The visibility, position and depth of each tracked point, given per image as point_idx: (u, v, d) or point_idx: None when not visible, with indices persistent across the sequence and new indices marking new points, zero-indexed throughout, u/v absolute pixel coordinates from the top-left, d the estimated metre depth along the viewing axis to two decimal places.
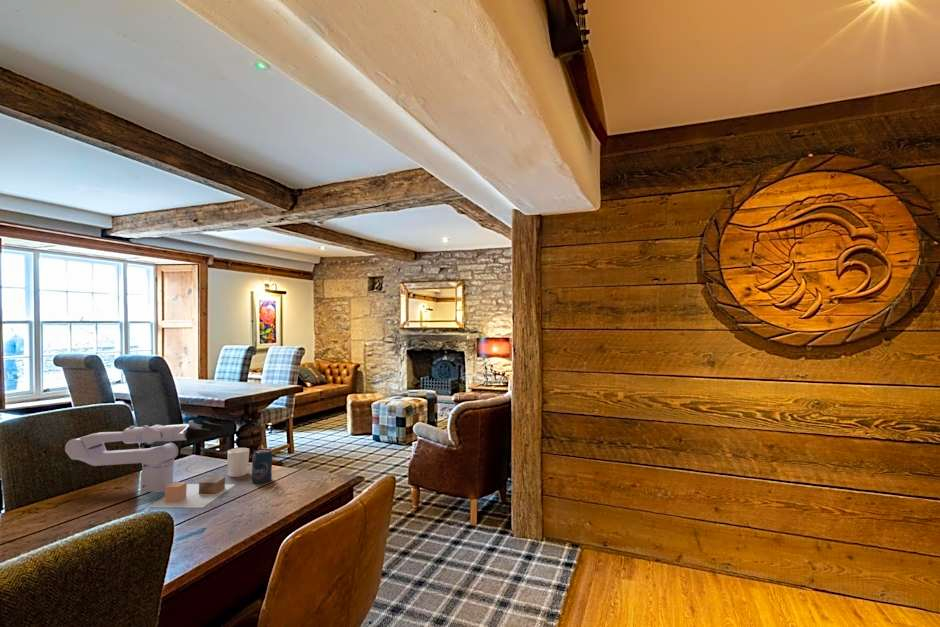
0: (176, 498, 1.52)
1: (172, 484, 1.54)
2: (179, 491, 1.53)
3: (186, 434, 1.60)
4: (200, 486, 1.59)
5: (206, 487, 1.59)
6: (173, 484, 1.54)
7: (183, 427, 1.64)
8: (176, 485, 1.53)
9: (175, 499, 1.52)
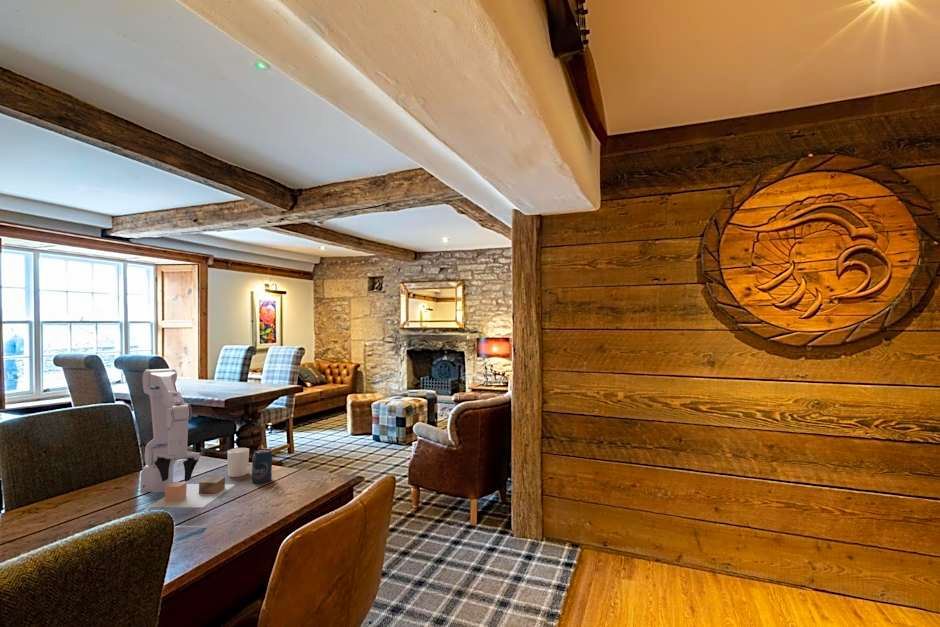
0: (176, 498, 1.52)
1: (172, 484, 1.54)
2: (179, 491, 1.53)
3: None
4: (200, 486, 1.59)
5: (206, 487, 1.59)
6: (173, 484, 1.54)
7: (168, 450, 1.53)
8: (176, 485, 1.53)
9: (175, 499, 1.52)
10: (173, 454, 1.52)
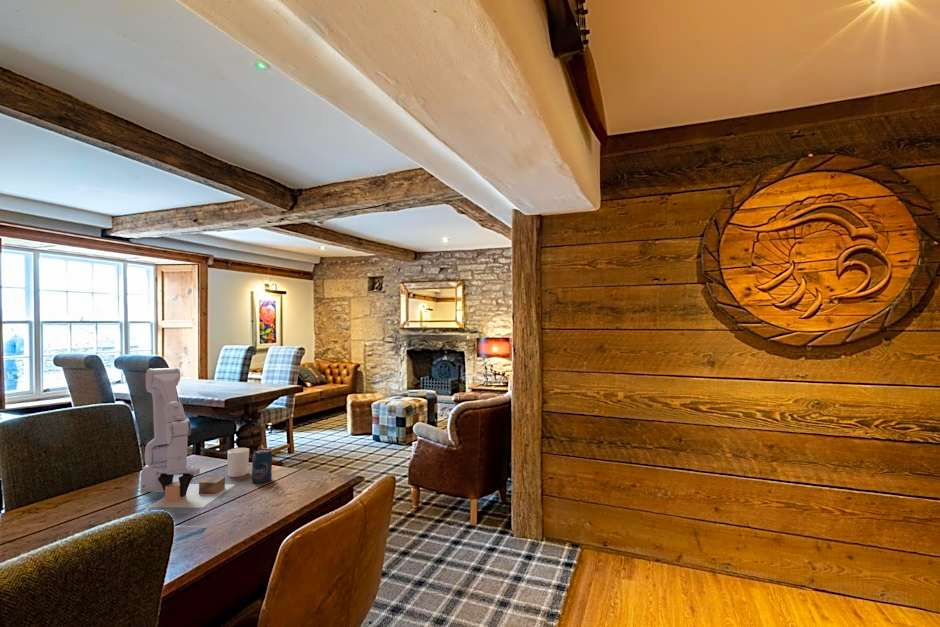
0: (176, 498, 1.52)
1: (172, 484, 1.54)
2: (179, 491, 1.53)
3: None
4: (200, 486, 1.59)
5: (206, 487, 1.59)
6: (173, 484, 1.54)
7: (167, 466, 1.52)
8: (176, 485, 1.53)
9: (175, 499, 1.52)
10: (172, 470, 1.52)
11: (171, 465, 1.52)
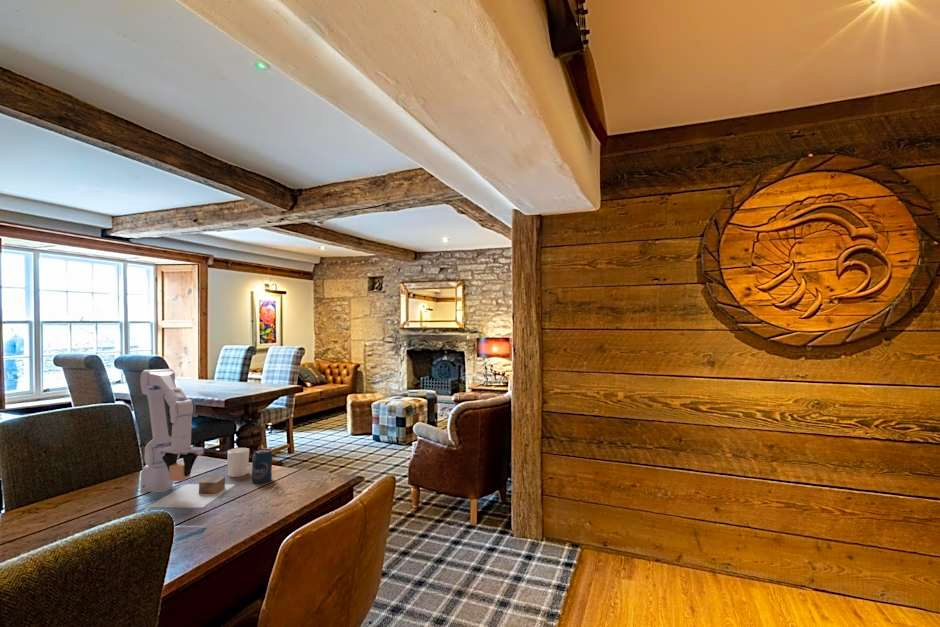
0: (181, 477, 1.53)
1: (176, 464, 1.55)
2: (183, 470, 1.53)
3: None
4: (200, 486, 1.59)
5: (206, 487, 1.59)
6: (178, 463, 1.55)
7: (171, 445, 1.53)
8: (180, 464, 1.54)
9: (179, 479, 1.53)
10: (177, 449, 1.53)
11: (175, 444, 1.53)
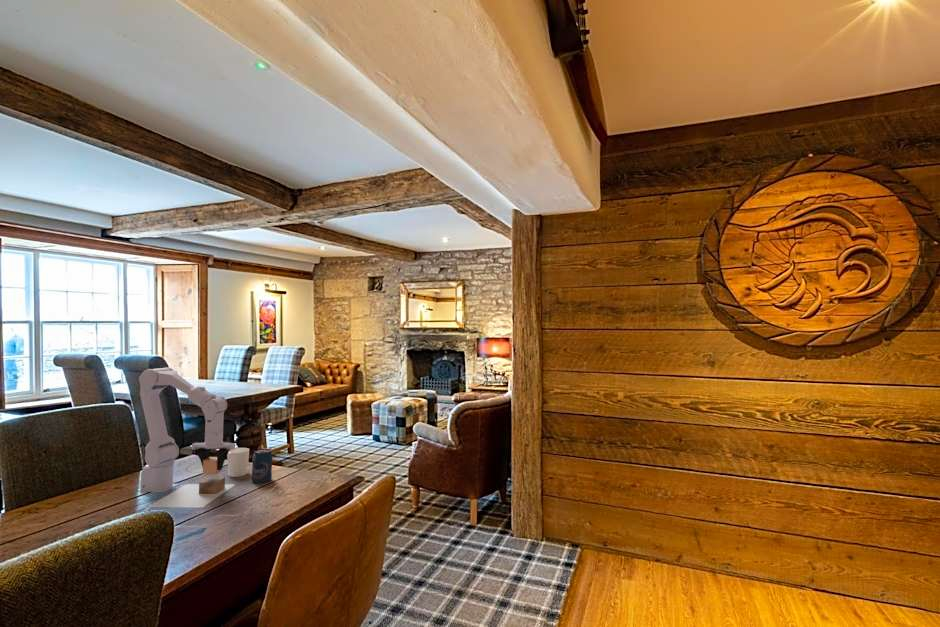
0: (214, 471, 1.60)
1: (209, 458, 1.62)
2: (216, 465, 1.61)
3: None
4: (200, 486, 1.59)
5: (206, 487, 1.59)
6: (210, 458, 1.63)
7: (205, 441, 1.61)
8: (213, 459, 1.62)
9: (213, 473, 1.60)
10: (210, 444, 1.60)
11: (209, 440, 1.60)
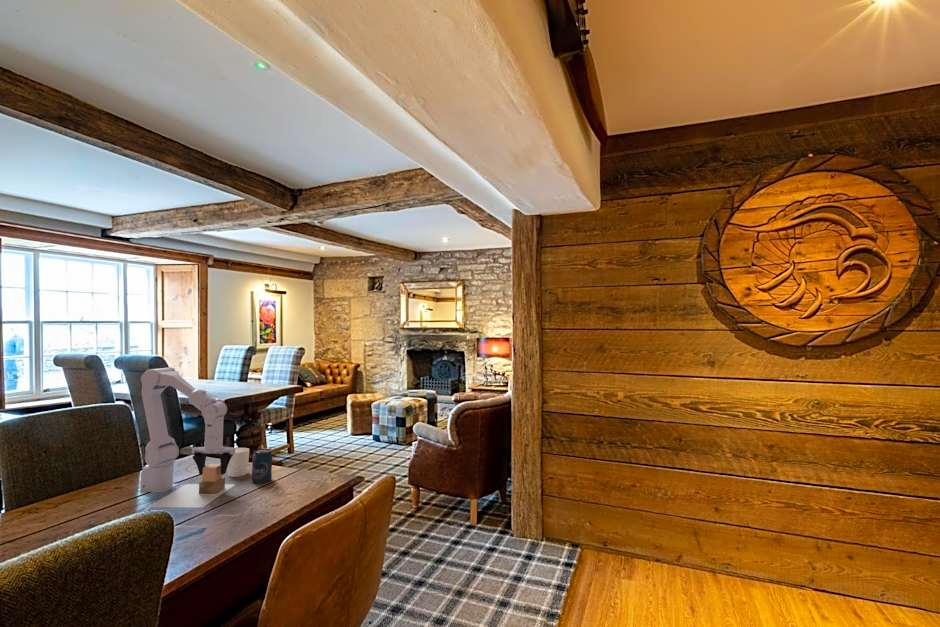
0: (214, 478, 1.60)
1: (209, 465, 1.62)
2: (216, 472, 1.61)
3: None
4: (200, 486, 1.59)
5: (206, 487, 1.59)
6: (210, 465, 1.63)
7: (205, 445, 1.61)
8: (213, 466, 1.61)
9: (212, 480, 1.60)
10: (210, 449, 1.60)
11: (209, 444, 1.60)
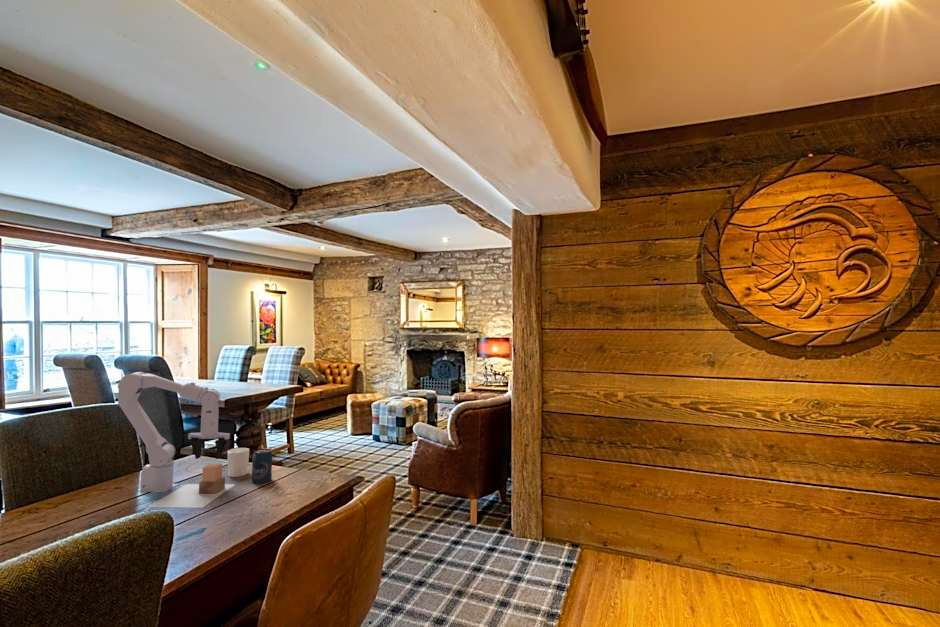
0: (214, 478, 1.60)
1: (209, 465, 1.62)
2: (216, 472, 1.61)
3: None
4: (200, 486, 1.59)
5: (206, 487, 1.59)
6: (210, 465, 1.63)
7: (201, 431, 1.69)
8: (213, 466, 1.61)
9: (212, 480, 1.60)
10: (206, 434, 1.68)
11: (205, 430, 1.68)
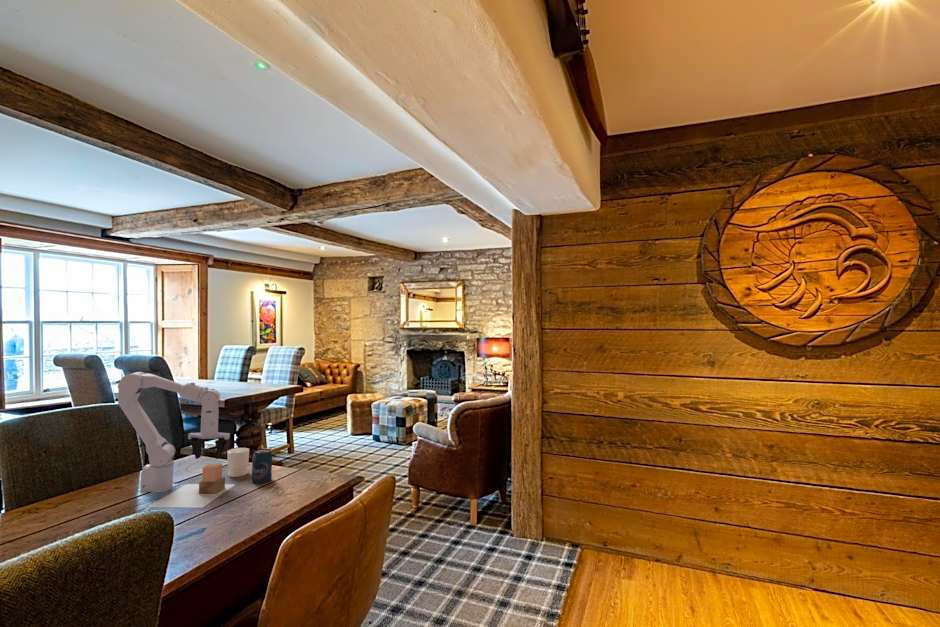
0: (214, 478, 1.60)
1: (209, 465, 1.62)
2: (216, 472, 1.61)
3: None
4: (200, 486, 1.59)
5: (206, 487, 1.59)
6: (210, 465, 1.63)
7: (201, 431, 1.69)
8: (213, 466, 1.61)
9: (212, 480, 1.60)
10: (206, 434, 1.68)
11: (205, 430, 1.68)
